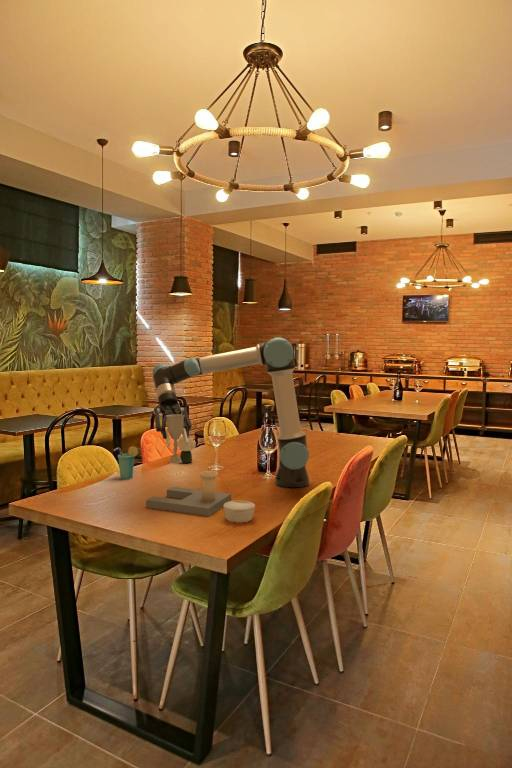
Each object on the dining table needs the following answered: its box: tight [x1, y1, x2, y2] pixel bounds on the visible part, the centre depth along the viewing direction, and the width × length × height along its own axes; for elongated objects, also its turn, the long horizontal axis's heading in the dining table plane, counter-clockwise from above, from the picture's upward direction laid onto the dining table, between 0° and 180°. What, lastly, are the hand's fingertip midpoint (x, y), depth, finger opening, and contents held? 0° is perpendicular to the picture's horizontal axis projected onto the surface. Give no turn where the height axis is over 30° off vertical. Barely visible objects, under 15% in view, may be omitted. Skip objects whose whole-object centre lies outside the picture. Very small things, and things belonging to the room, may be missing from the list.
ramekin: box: [222, 500, 256, 524], centre depth 195 cm, size 11×11×5 cm
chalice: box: [166, 413, 185, 464], centre depth 211 cm, size 7×7×18 cm
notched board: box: [145, 470, 232, 517], centre depth 210 cm, size 26×20×13 cm
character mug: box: [177, 435, 197, 464], centre depth 281 cm, size 11×7×13 cm, turn 71°
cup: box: [112, 445, 139, 480], centre depth 248 cm, size 14×8×15 cm, turn 149°
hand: (177, 444), depth 208 cm, fingers closed on chalice, 6 cm apart
